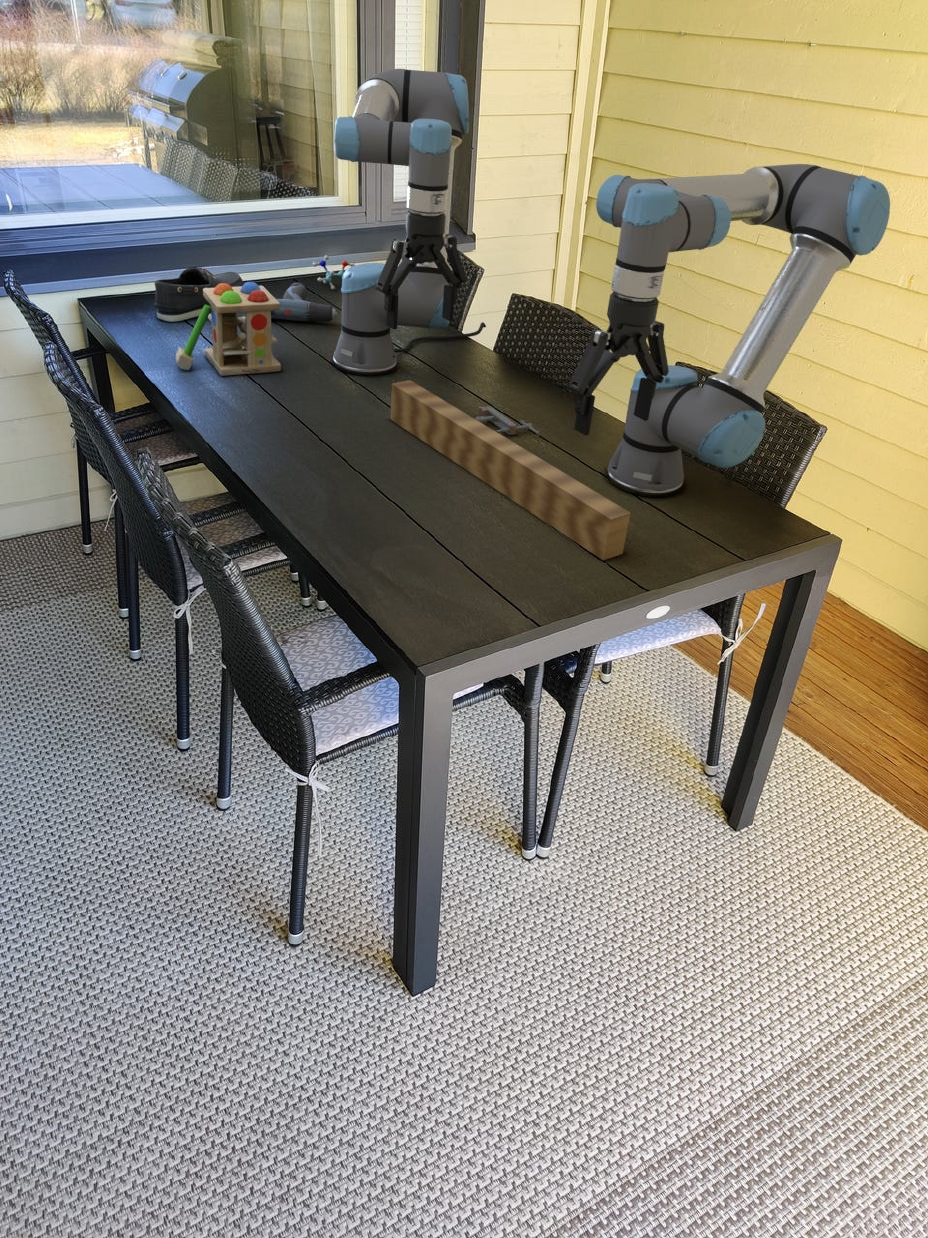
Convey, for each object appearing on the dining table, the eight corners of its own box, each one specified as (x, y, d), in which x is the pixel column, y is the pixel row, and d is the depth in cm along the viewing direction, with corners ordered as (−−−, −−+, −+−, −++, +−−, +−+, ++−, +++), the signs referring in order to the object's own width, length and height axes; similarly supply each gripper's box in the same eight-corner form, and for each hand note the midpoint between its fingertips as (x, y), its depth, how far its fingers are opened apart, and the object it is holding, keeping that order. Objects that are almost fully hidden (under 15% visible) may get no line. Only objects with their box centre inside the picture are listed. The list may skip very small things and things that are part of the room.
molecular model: (345, 281, 281) (333, 247, 280) (317, 294, 285) (306, 260, 284) (362, 284, 292) (350, 251, 291) (335, 296, 296) (324, 263, 294)
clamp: (466, 408, 215) (505, 402, 219) (466, 417, 216) (504, 412, 220) (502, 435, 204) (542, 429, 209) (501, 445, 205) (541, 438, 210)
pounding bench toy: (183, 379, 220) (176, 299, 210) (169, 357, 231) (162, 280, 221) (282, 371, 230) (280, 294, 220) (264, 350, 240) (262, 276, 230)
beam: (390, 419, 212) (391, 383, 207) (408, 415, 214) (410, 380, 210) (603, 560, 170) (611, 519, 165) (622, 553, 172) (630, 512, 167)
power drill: (344, 304, 276) (335, 327, 259) (277, 298, 275) (264, 321, 258) (344, 285, 273) (335, 306, 256) (277, 279, 272) (264, 300, 255)
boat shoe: (262, 300, 274) (260, 262, 268) (174, 323, 250) (170, 282, 245) (229, 292, 279) (226, 254, 274) (139, 314, 256) (134, 273, 250)
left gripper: (381, 220, 176) (377, 336, 188) (490, 211, 189) (480, 320, 201) (359, 210, 181) (356, 324, 193) (467, 203, 194) (458, 310, 206)
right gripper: (592, 311, 141) (571, 447, 153) (707, 292, 154) (680, 419, 166) (558, 296, 145) (539, 429, 157) (673, 279, 159) (648, 404, 171)
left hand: (419, 323), depth 197 cm, fingers open, 13 cm apart
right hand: (611, 424), depth 162 cm, fingers open, 13 cm apart
